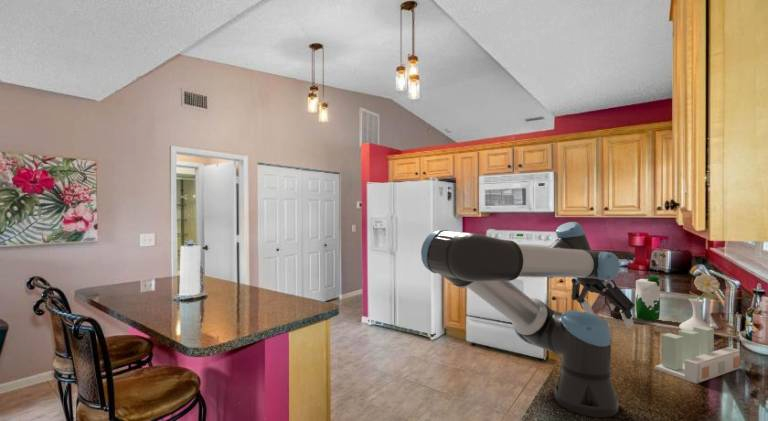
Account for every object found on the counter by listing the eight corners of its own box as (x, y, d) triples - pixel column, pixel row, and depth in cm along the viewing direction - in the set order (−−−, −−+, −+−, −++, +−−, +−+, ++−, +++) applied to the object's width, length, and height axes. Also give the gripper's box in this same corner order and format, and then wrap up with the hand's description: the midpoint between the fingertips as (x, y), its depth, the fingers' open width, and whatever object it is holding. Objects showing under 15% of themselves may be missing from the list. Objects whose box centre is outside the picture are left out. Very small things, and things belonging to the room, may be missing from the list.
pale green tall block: (675, 370, 119) (675, 338, 119) (661, 365, 123) (661, 334, 123) (682, 367, 121) (683, 336, 121) (669, 363, 125) (669, 332, 125)
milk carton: (656, 322, 172) (656, 278, 172) (633, 318, 179) (633, 276, 179) (662, 319, 178) (662, 276, 178) (639, 314, 185) (639, 273, 185)
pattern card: (702, 382, 113) (702, 365, 113) (699, 381, 114) (699, 364, 114) (740, 368, 122) (740, 353, 122) (737, 367, 123) (737, 352, 123)
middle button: (691, 365, 123) (691, 334, 123) (678, 360, 127) (678, 330, 127) (698, 362, 125) (698, 332, 125) (684, 358, 128) (685, 329, 128)
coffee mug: (632, 320, 175) (632, 299, 175) (612, 319, 177) (612, 298, 177) (622, 314, 186) (622, 293, 186) (603, 313, 188) (603, 292, 188)
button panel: (696, 383, 113) (696, 363, 113) (655, 368, 123) (655, 350, 123) (739, 368, 123) (739, 350, 123) (698, 355, 134) (698, 338, 134)
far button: (707, 360, 127) (707, 330, 127) (693, 356, 130) (693, 327, 130) (713, 358, 129) (713, 328, 128) (699, 354, 132) (699, 325, 132)
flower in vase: (675, 332, 159) (675, 272, 158) (683, 327, 166) (683, 269, 166) (716, 341, 148) (716, 277, 148) (722, 334, 156) (722, 273, 156)
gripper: (630, 263, 112) (655, 322, 115) (559, 257, 134) (582, 307, 138) (617, 278, 109) (643, 338, 112) (546, 269, 131) (570, 319, 135)
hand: (609, 321), depth 125 cm, fingers open, 13 cm apart
